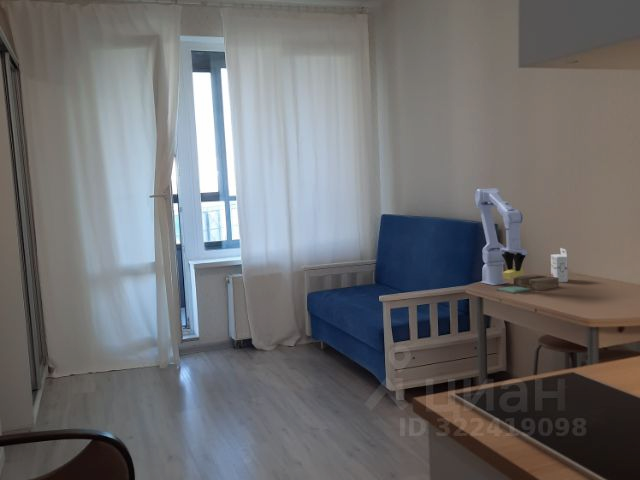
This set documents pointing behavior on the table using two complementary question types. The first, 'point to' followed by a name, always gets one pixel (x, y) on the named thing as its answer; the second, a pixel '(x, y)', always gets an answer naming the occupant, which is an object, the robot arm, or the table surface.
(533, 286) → the pocket board
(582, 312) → the table surface
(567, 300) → the table surface
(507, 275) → the slab
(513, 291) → the mat
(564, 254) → the ink cartridge box
